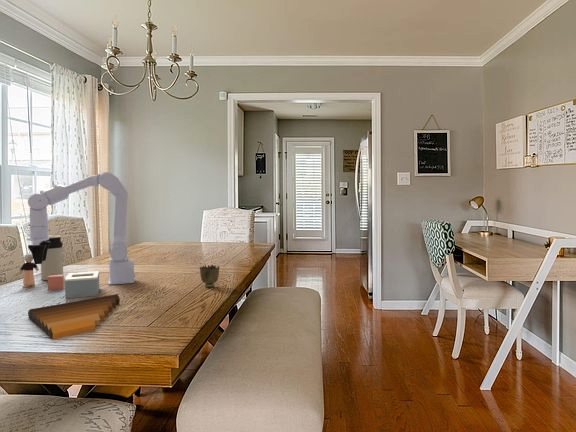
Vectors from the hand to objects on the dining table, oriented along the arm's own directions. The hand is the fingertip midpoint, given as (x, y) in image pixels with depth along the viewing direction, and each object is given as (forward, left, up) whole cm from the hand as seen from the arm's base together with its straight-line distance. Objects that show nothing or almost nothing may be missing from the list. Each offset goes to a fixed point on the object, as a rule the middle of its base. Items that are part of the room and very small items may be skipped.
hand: (40, 262), depth 152 cm
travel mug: (-1, -18, -10) cm, 21 cm away
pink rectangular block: (-5, +3, -10) cm, 12 cm away
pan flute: (-19, +47, -11) cm, 52 cm away
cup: (-59, +22, -10) cm, 64 cm away
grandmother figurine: (+5, -6, -10) cm, 13 cm away
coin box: (-15, +14, -10) cm, 23 cm away
